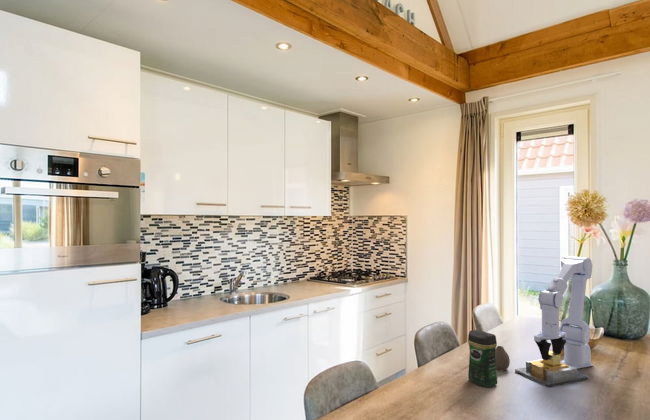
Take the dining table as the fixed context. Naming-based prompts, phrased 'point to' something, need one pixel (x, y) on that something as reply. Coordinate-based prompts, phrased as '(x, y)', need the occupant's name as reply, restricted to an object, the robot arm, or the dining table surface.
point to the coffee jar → (482, 358)
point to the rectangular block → (553, 359)
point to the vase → (501, 358)
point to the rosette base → (548, 382)
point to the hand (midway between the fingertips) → (550, 358)
